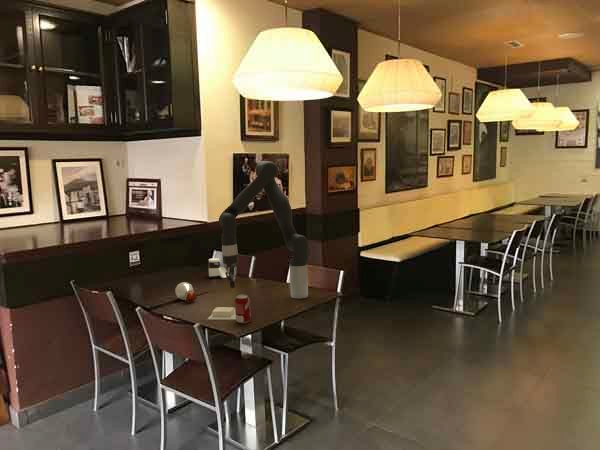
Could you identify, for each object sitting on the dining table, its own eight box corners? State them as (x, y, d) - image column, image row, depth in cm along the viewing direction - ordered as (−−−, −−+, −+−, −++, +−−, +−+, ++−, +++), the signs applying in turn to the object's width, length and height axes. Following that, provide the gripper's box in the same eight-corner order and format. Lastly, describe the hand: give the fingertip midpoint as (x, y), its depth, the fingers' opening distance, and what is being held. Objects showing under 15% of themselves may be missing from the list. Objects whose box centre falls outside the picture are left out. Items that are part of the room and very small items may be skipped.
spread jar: (209, 275, 316) (208, 258, 315) (227, 274, 317) (226, 256, 316) (208, 280, 304) (207, 261, 303) (226, 279, 306) (225, 260, 304)
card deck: (216, 307, 236) (212, 311, 230) (234, 307, 235) (230, 311, 229) (216, 312, 237) (212, 316, 230) (234, 312, 236) (231, 316, 229)
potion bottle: (183, 299, 269) (193, 308, 257) (169, 291, 264) (179, 301, 252) (192, 284, 271) (203, 293, 258) (178, 277, 265) (188, 285, 253)
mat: (217, 309, 243) (217, 308, 243) (245, 309, 241) (245, 308, 241) (207, 320, 228) (207, 318, 228) (236, 320, 226) (236, 319, 226)
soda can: (242, 325, 219) (241, 299, 217) (232, 322, 223) (231, 296, 221) (254, 321, 224) (252, 295, 222) (244, 318, 228) (242, 293, 226)
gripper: (226, 250, 247) (229, 284, 249) (218, 256, 234) (221, 291, 236) (240, 250, 246) (243, 283, 248) (233, 256, 233) (236, 291, 235)
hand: (232, 287), depth 242 cm, fingers closed
